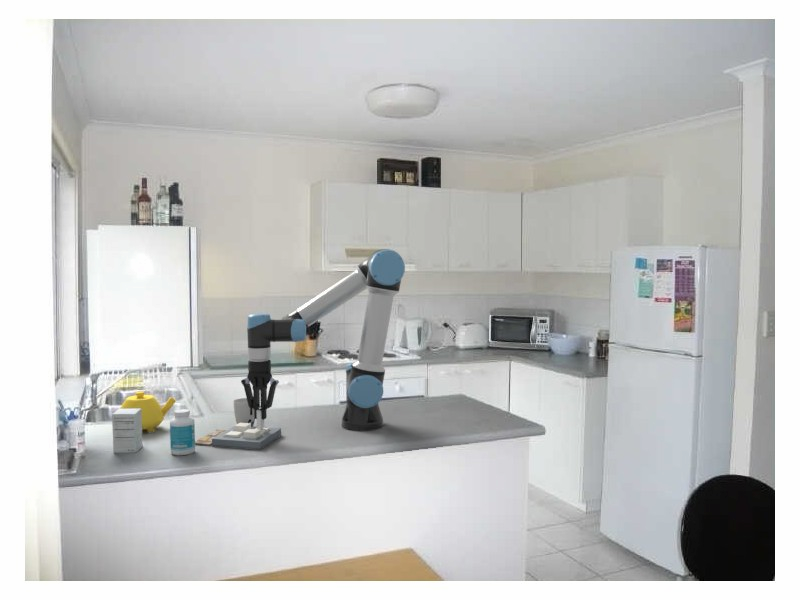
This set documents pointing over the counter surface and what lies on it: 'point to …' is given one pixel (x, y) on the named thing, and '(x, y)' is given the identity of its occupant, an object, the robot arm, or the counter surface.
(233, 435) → the button
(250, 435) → the button
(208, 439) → the card
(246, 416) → the cup
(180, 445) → the pill bottle
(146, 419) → the teapot
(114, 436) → the supplement box
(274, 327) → the robot arm
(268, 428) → the button
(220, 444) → the button board
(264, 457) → the counter surface
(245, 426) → the button
